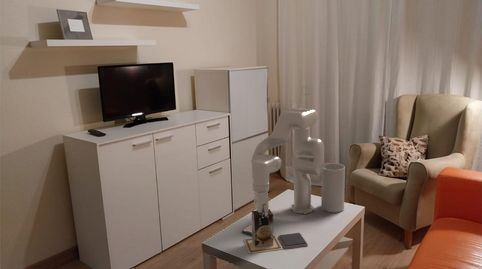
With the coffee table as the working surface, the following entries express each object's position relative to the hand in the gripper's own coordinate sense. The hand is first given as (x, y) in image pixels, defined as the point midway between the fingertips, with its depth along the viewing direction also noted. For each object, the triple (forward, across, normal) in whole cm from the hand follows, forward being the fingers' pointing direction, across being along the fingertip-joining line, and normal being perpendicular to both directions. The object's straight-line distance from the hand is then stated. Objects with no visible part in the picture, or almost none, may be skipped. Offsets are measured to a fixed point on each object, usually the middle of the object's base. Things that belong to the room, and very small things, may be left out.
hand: (262, 220), depth 174 cm
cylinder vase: (+14, -28, +47) cm, 57 cm away
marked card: (+12, 0, 0) cm, 12 cm away
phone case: (+13, -16, 0) cm, 21 cm away
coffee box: (+12, 0, 0) cm, 12 cm away
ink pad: (+12, +2, +14) cm, 19 cm away
